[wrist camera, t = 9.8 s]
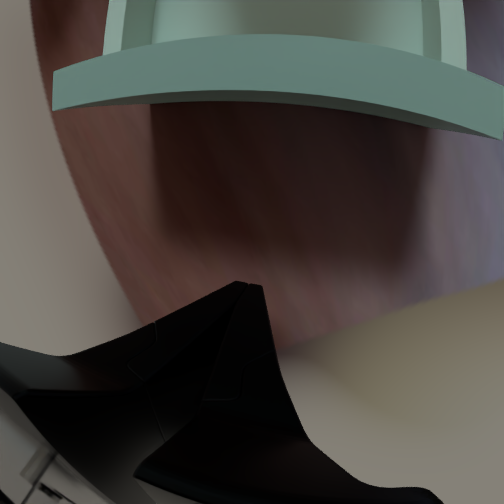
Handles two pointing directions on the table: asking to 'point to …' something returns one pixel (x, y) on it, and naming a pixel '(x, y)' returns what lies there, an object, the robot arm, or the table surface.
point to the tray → (291, 59)
